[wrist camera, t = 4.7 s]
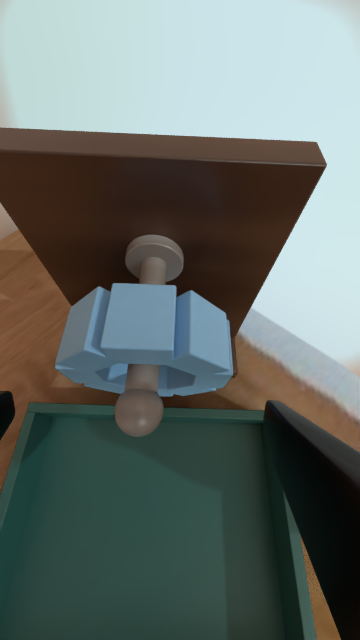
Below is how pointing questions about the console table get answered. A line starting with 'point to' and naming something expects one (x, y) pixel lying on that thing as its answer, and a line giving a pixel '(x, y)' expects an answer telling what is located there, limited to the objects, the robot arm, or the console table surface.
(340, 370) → the console table surface
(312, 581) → the console table surface
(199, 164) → the hook rack
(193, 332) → the blue segmented ring
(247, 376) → the console table surface
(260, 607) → the tray
